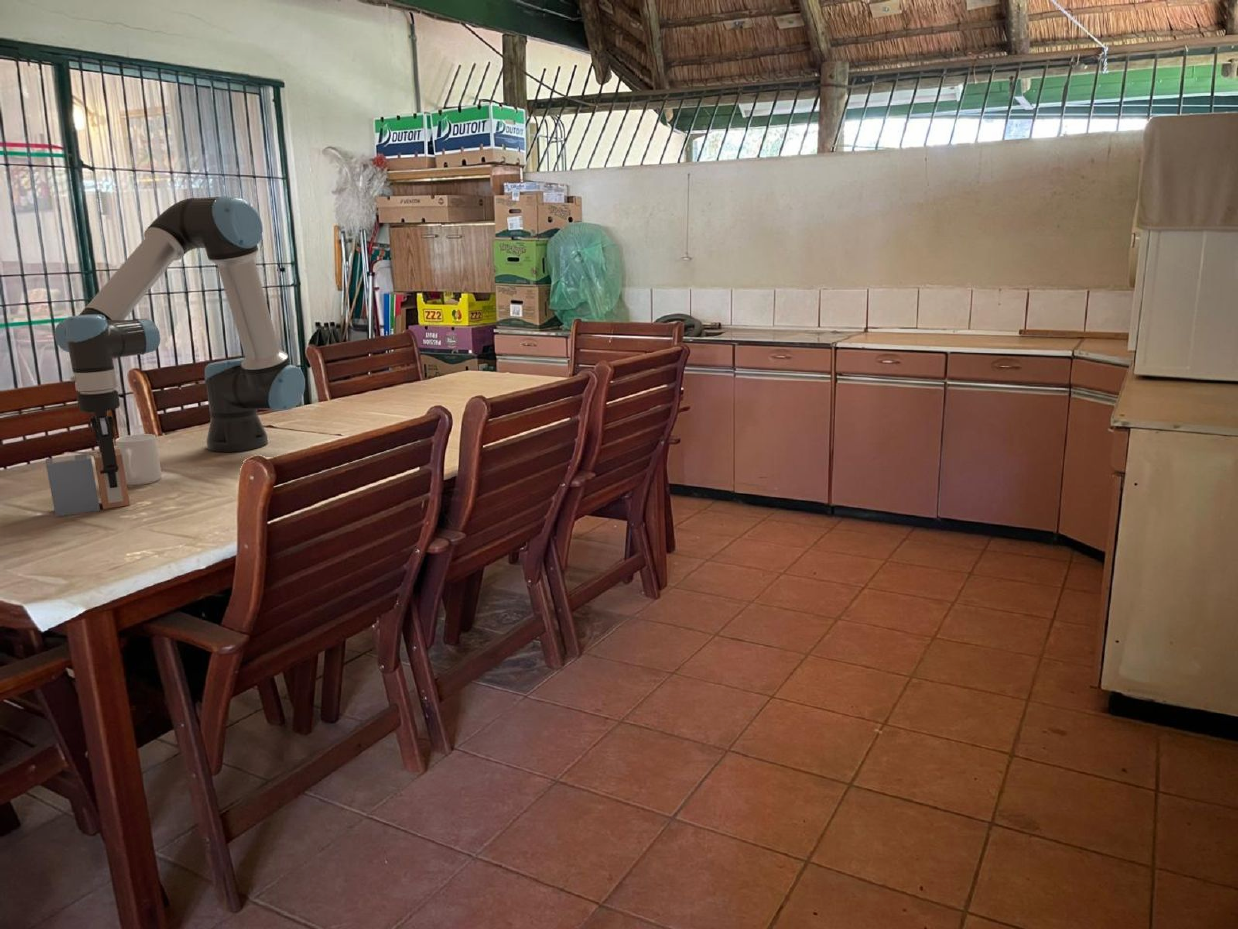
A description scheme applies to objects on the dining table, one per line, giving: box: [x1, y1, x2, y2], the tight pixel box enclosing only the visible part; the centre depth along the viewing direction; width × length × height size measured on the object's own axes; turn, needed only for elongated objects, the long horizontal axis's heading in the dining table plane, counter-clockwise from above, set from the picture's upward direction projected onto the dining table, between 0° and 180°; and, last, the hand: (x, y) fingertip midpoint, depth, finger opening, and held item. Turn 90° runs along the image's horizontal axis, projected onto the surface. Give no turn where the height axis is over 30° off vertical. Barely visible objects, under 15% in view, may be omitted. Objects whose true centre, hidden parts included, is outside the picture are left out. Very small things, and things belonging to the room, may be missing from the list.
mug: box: [114, 433, 162, 486], centre depth 212 cm, size 12×8×10 cm
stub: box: [92, 448, 131, 510], centre depth 195 cm, size 5×6×11 cm
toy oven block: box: [45, 452, 101, 518], centre depth 192 cm, size 8×6×11 cm
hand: (114, 497), depth 197 cm, fingers closed on stub, 6 cm apart
